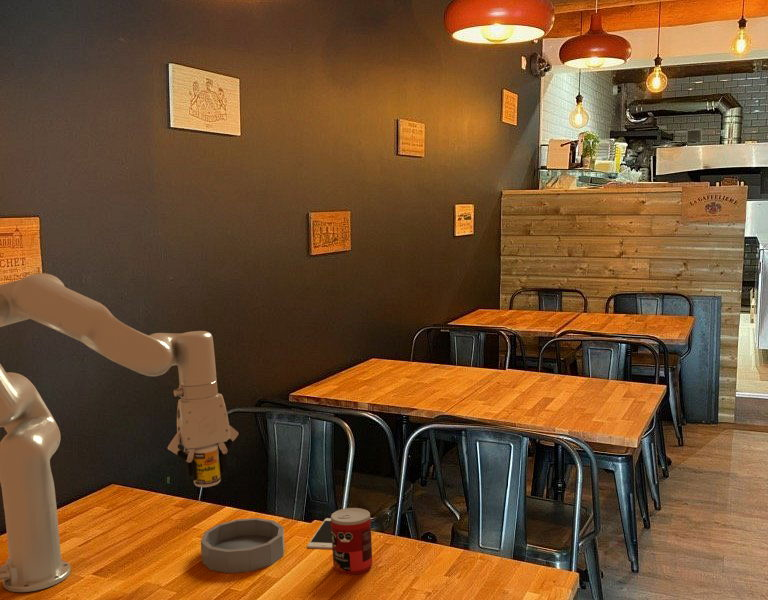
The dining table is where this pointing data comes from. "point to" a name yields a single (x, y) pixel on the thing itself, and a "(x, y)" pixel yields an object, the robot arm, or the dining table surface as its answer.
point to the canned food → (351, 541)
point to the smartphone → (322, 536)
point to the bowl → (242, 545)
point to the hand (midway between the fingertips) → (207, 474)
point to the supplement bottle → (207, 466)
